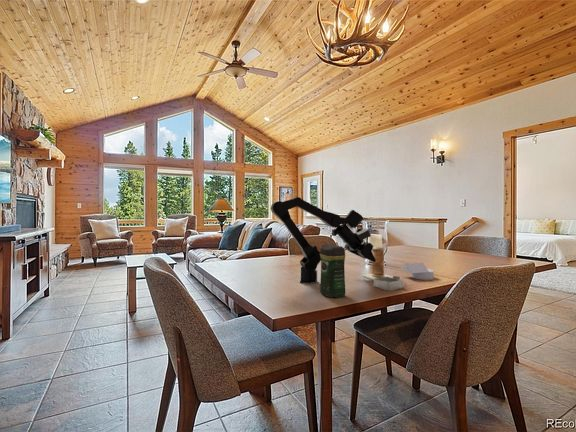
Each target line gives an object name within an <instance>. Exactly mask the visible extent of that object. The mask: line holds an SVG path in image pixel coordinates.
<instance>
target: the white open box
mask: <svg viewBox="0 0 576 432" xmlns="http://www.w3.org/2000/svg"><path fill="white" fill-rule="evenodd" d="M392 277H393V278H392ZM392 277H387V276H386V277H381V278H376V279H374V281H373V287H375V288H378V289H382V290H385V291H389V292H391V291H396V290H400V289H404V280H403V279H400V276H398V275H393V276H392Z"/></svg>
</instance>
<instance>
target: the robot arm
mask: <svg viewBox="0 0 576 432" xmlns="http://www.w3.org/2000/svg"><path fill="white" fill-rule="evenodd" d="M293 208H297V209H300V210H302V211H304V212H306V213H308V214H310V215H311V216H314V217H316V218H318V220H320V221H321V222H322V223H323V224H325V225H326V226H328V227H330V228H334V229H331V236H333V237H336V236H338V237H339V238H341V240H342V242H343V243H344V244H345V245H344V249H345V251H348V252H349V253H351V254H354V255H355V256H358V257H360V258H362V259H364V260H365V259H366V260H369V261H371V262H375V261H376V260H375V258H374V256H373V254H372V249H373V247H374V245H373V244H372V243H371V242H366V241H365V239H366V240H367V238H370V237H372V234H371V233H370V230H369V229H368V228H363V229H362V228H359V227H358V226H359V225H360V224H361V222H362V221H364V217H363V215H362V214H361V213H359V212H358V211H356V210H354V209H350V211H349V213H347V215H345V216H344V217H342V216H340V215H339V214H338V213H337V214H336V213H334V212H330V211H326V210H324V209H321V208H319V207H318V206H316V205H313V204H312V203H311V202H308V201H306V200H304V199H302V198H301V197H299V196H296V197H293V198H290V199H287V200H283V201H280V200H278V201H274V202H272V204H271V206H270V211H271V213H272V214H273V215H274V216H275V217H276V218H278V220H279V221H281V223H283V225H284V227H286V229H287V231H288V232H289V233H290V235H291V236H292V238H293V239H294V241H295V242H296V243H297V245H298V246H299V247H300V250H301V253H302V255H303V257H302V258H301V260H299V263H300V266H301V267H300V281H299V283H301V284H302V283H303V284H304V283H305V284H316V282H317V281H318V270H317V269H318V265H319V264H321V258H320V251H319V250H318V247H317V245H315V244H313V243H311V244H310V243H309V242H308V240H307V239H306V237H305V236H304V235H303V233H302V231H301V230H300V229H299V227H298V226H297V225H296V222H294V220H293V219H292V216H291V214H290V212H289V210H292V209H293ZM357 227H358V228H357ZM352 229H355V232H353V231H352Z"/></svg>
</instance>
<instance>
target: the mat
mask: <svg viewBox="0 0 576 432" xmlns="http://www.w3.org/2000/svg"><path fill="white" fill-rule="evenodd" d="M360 276H361V277H363V278H366V279H368V280H370V281H373V282H374V279H376V278H378V277H373V276H372V273H366V274H365V273H364V274H360ZM386 276H387V277H392V278H393V276H392V275H389V274H386V273H384V277H386Z"/></svg>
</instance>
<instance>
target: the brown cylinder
mask: <svg viewBox="0 0 576 432" xmlns="http://www.w3.org/2000/svg"><path fill="white" fill-rule="evenodd" d="M385 250H386V249H385V247H382V246H381V247H380V246H373V249H372V254H373V256H374V258H375V260H376V261H375V262H372V261H371V262H372V264H371V265H372V267H371V268H372V270H371V271H372V273H371V274H372V276H373V277H378V278H381V277H384V274H385V273H384V272H385V271H384V269H385V265H384V264H385V256H384V255H385Z"/></svg>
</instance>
